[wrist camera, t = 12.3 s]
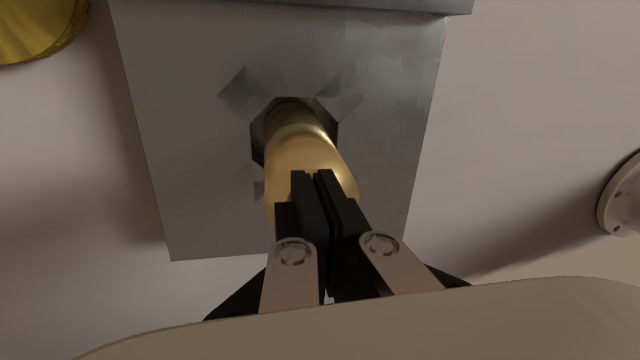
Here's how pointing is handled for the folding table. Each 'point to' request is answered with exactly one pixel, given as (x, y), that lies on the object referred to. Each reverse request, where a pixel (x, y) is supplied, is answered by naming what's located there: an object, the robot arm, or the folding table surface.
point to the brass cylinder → (298, 153)
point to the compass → (38, 27)
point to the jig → (276, 103)
